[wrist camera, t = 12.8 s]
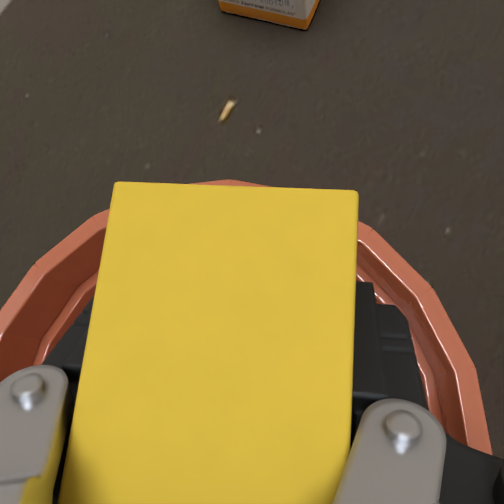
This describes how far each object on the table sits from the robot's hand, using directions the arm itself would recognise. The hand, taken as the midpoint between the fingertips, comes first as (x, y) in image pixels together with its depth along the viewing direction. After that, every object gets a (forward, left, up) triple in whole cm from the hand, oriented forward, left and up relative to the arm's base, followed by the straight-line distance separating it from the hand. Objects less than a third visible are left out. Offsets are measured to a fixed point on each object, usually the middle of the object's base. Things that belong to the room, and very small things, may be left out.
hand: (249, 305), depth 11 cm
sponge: (+1, -1, -4) cm, 5 cm away
